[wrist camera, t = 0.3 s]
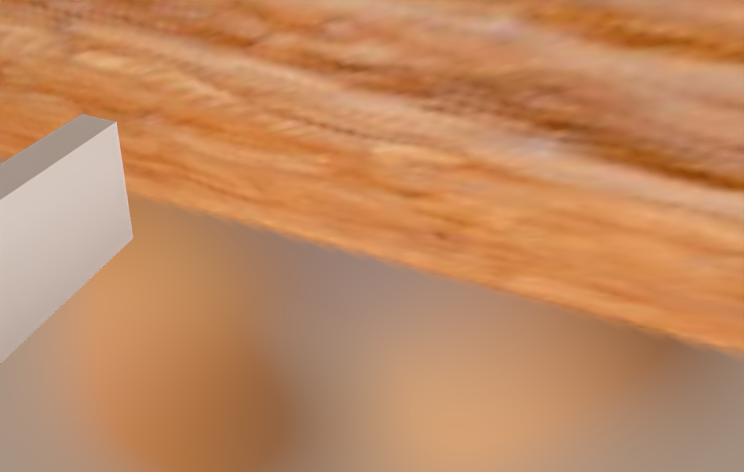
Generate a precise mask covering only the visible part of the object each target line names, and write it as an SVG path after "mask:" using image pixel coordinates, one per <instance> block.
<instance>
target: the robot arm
mask: <svg viewBox="0 0 744 472" xmlns="http://www.w3.org/2000/svg"><path fill="white" fill-rule="evenodd" d="M132 239H133V234H132V227H131V220H130V213H129V206H128V199H127V192H126V185H125V178H124V171H123V164H122V157H121V150H120V143H119V136H118V129H117V122H116V121H111V120H107V119H102V118H98V117H93V116H89V115H84V114H80V115H79V116H77V117H76V118H74V119H72V120H71V121H69V122H67V123H66V124H64V125H63V126H61V127H59V128H58V129H56V130H54V131H53V132H51V133H50V134H48V135H46V136H45V137H43V138H41V139H40V140H38V141H37V142H35V143H33V144H32V145H30V146H28V147H27V148H25V149H24V150H22V151H20V152H19V153H17V154H15V155H14V156H12V157H11V158H9V159H7V160H6V161H4V162H2V163H1V164H0V364H1V363H2V362H3V361H4V360H5V359H6V358H7V357H8V356H9V355H10V354H11V353H12V352H13V351H14V350H15V349H16V348H17V347H19V346H20V345H21V344H22V343H23V342H24V341H25V340H26V339H27V338H28V337H29V336H30V335H31V334H32V333H33V332H34V331H35V330H37V329H38V328H39V327H40V326H41V325H42V324H43V323H44V322H45V321H46V320H47V319H48V318H49V317H50V316H51V315H52V314H53V313H54V312H56V311H57V309H59V308H60V307H61V306H62V305H63V304H64V303H65V302H66V301H67V300H68V299H69V298H70V297H71V296H72V295H73V294H75V293H76V292H77V291H78V290H79V289H80V288H81V287H82V286H83V285H84V284H85V283H86V282H87V281H88V280H89V279H90V278H91V277H92V276H94V275H95V274H96V273H97V272H98V270H100V269H101V268H102V267H103V266H104V265H105V264H106V263H107V262H108V261H109V260H110V259H111V258H113V257H114V256H115V255H116V254H117V253H118V252H119V251H120V250H121V249H122V248H123V247H124V246H125V245H126V244H127V243H128V242H129V241H130V240H132Z"/></svg>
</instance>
